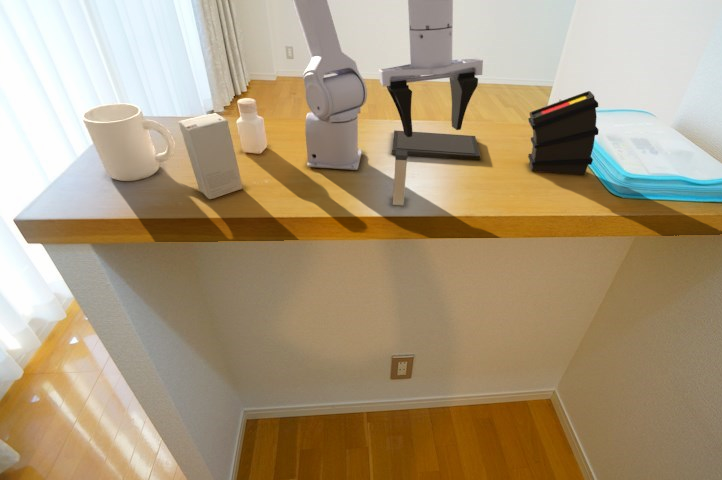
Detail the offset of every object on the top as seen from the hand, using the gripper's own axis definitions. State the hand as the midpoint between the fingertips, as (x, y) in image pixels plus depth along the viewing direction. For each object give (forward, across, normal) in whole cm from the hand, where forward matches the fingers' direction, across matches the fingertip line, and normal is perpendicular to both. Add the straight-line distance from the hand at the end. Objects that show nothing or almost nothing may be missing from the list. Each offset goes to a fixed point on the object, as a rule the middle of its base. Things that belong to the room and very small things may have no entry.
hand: (432, 131), depth 62 cm
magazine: (+14, +28, +10) cm, 33 cm away
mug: (+6, -47, +20) cm, 51 cm away
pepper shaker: (+7, -28, +26) cm, 39 cm away
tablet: (+10, +8, +23) cm, 26 cm away
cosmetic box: (+8, -34, +11) cm, 37 cm away
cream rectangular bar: (+12, -5, +3) cm, 13 cm away
